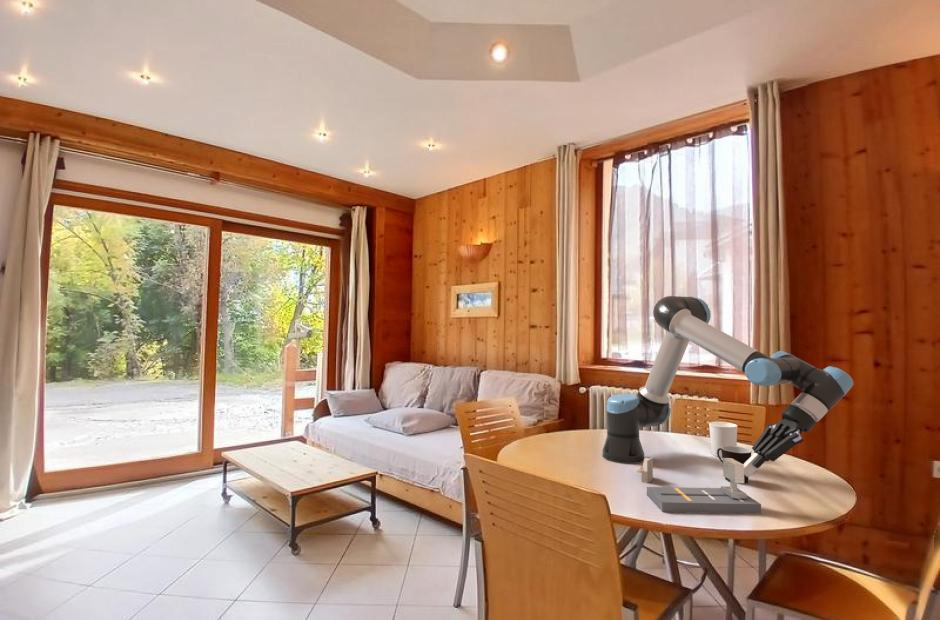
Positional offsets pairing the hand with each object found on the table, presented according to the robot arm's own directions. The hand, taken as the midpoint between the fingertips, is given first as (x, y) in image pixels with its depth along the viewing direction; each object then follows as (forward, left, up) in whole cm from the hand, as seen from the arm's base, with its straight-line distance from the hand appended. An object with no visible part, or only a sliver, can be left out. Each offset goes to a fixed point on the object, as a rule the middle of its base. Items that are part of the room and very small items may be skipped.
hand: (743, 473), depth 128 cm
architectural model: (-27, +8, -10) cm, 30 cm away
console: (-10, -5, -9) cm, 15 cm away
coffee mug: (-3, +25, -9) cm, 27 cm away
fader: (-3, -1, -6) cm, 7 cm away
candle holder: (-8, +55, -9) cm, 56 cm away
